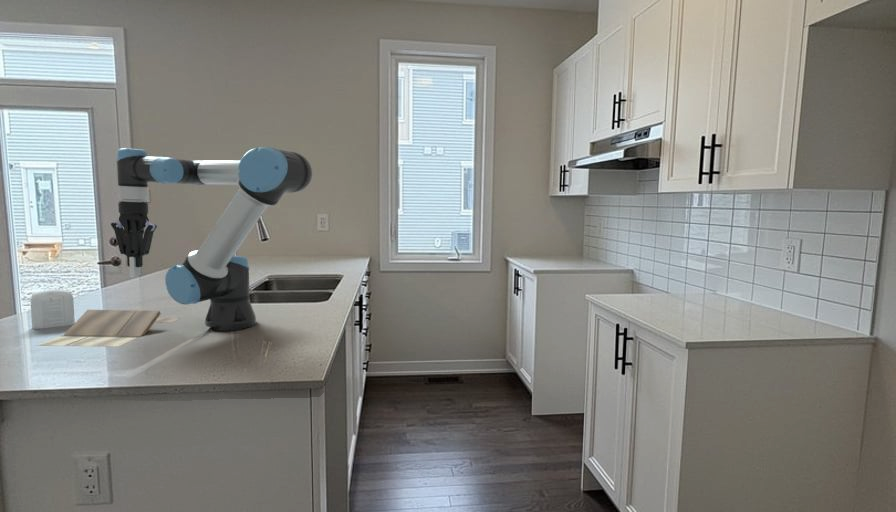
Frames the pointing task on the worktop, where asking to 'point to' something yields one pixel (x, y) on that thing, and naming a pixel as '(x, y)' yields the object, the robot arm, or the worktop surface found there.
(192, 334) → the worktop surface
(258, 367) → the worktop surface
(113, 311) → the plank
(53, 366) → the worktop surface
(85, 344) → the light wood flat board
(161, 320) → the plank
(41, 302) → the photo printer
